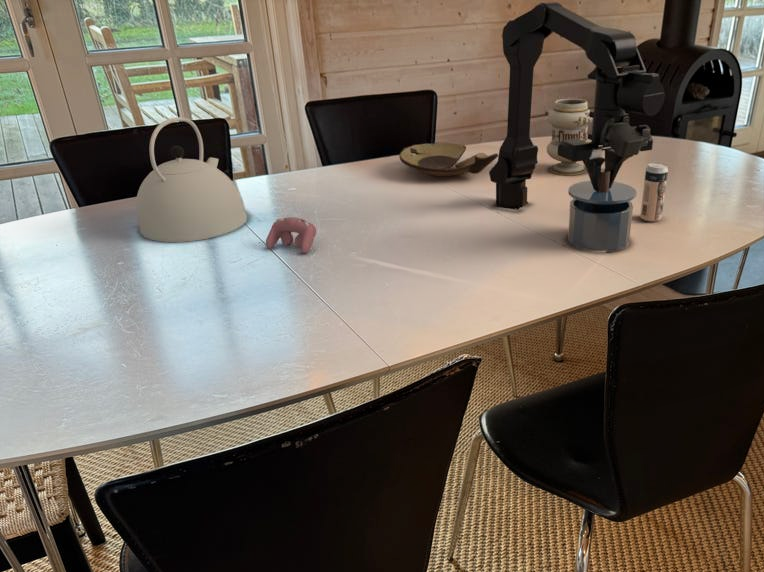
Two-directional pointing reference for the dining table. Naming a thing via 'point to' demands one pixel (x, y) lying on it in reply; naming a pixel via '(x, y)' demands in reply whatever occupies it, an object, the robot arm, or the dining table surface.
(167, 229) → the kettle
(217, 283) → the dining table surface
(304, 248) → the video game controller
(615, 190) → the lid
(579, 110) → the apothecary jar
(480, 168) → the oil lamp
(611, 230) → the pot
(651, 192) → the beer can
